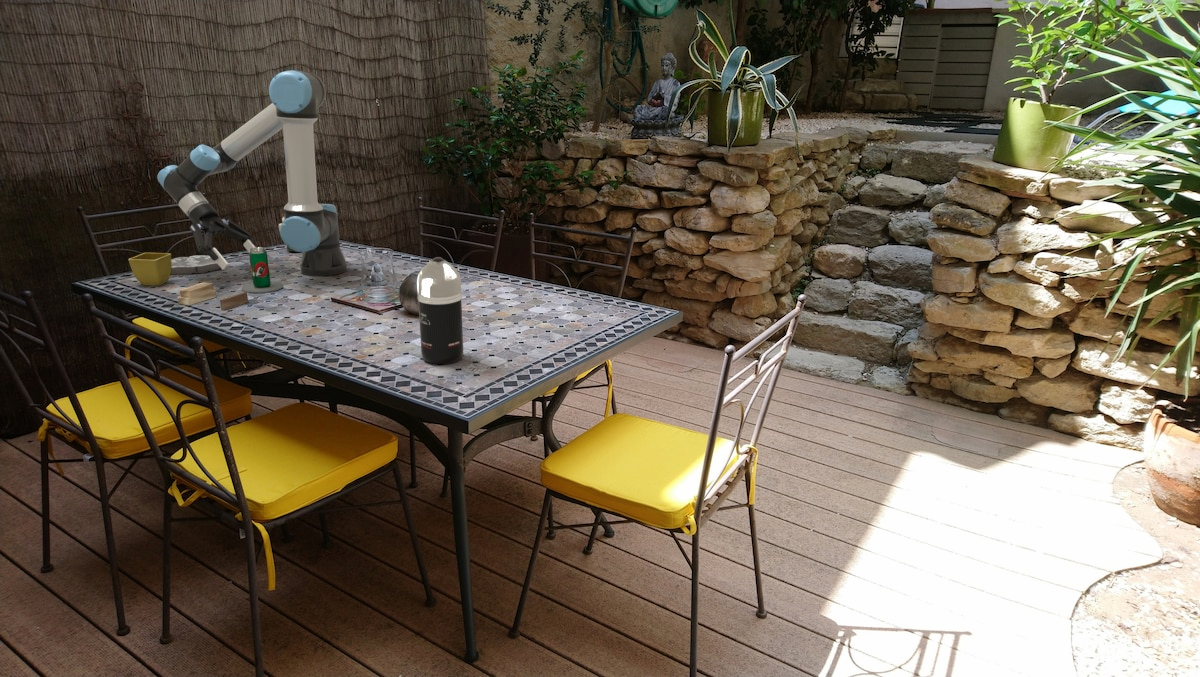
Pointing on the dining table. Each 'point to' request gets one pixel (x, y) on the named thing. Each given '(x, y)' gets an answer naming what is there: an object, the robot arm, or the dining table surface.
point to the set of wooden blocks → (209, 296)
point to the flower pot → (151, 268)
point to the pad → (271, 288)
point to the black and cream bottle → (440, 312)
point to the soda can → (259, 267)
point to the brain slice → (193, 265)
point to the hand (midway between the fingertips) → (242, 262)
